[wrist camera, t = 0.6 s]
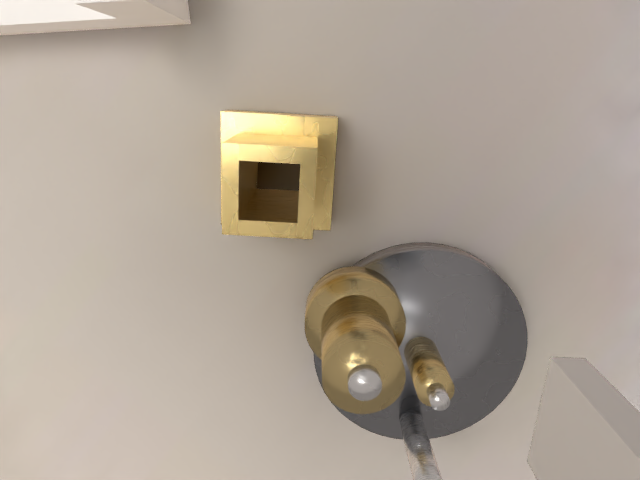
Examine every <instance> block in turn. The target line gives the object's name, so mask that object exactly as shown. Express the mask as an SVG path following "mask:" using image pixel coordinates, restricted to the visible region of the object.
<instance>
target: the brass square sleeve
mask: <svg viewBox="0 0 640 480" xmlns="http://www.w3.org/2000/svg"><path fill="white" fill-rule="evenodd" d="M337 128H338V118H337V116H322V115H306V114H289V113H273V112H256V111H240V110H225V111H221V224H222V234H225V235H244V236H262V237H280V238H299V239H313V230H331V215H332V201H333V186H334V172H335V157H336V142H337ZM258 162H273V163H290V164H300V180H299V191H292V190H275V189H257V174H258Z"/></svg>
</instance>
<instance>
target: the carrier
mask: <svg viewBox="0 0 640 480" xmlns="http://www.w3.org/2000/svg"><path fill="white" fill-rule="evenodd" d="M305 334H306V338H307V341H308V343H309V345H310V347H311V349H312V350H313V352H314V361H315V368H316V372H317V375H318V379H319V382H320V384H321V386H322V388H323V390H324V392H325V394H326V395H327V397H328V398H329V400H330V401H331V403H332V404H333V405H334V406H335V407H336V408H337V409H338V410H339V411H340V412H341V413H342V414H343V415H344V416H345V417H347V418H348V419H349V420H350V421H352V422H354V423H355V424H357V425H358V426H360V427H362V428H364V429H366V430H368V431H370V432H373V433H376V434H379V435H382V436H386V437H391V438H396V439H403V440H404V444H405V448H406V452H407V456H408V460H409V464H410V468H411V472H412V476H413V480H442V478H441V474H440V471H439V468H438V465H437V462H436V459H435V456H434V453H433V450H432V446H431V443H430V440H429V439H431V438H437V437H441V436H446V435H449V434H452V433H455V432H458V431H460V430H463V429H465V428H467V427H469V426H471V425H473V424H474V423H476V422H478V421H479V420H481V419H483V418H484V417H485V416H487V415H488V414H489V413H490V412H492V411H493V410H494V409H495V408H496V407H497V406H498V405H499V404H500V403H501V402H502V401H503V400H504V399H505V397H506V396H507V395H508V394H509V392H510V391H511V389H512V388H513V386H514V384H515V383H516V381H517V379H518V377H519V375H520V372H521V370H522V367H523V364H524V361H525V357H526V350H527V328H526V322H525V318H524V314H523V311H522V308H521V306H520V304H519V302H518V300H517V298H516V296H515V295H514V293H513V292H512V291H511V289H510V288H509V286H508V285H507V284H506V283H505V282H504V281H503V280H502V279H501V278H500V277H499V276H498V275H497V274H496V273H495V272H494V271H493V270H492V269H491V268H490V267H489V266H488V265H487V264H485V263H484V262H483V261H481V260H480V259H478V258H477V257H475V256H473V255H471V254H470V253H468V252H465V251H463V250H460V249H458V248H455V247H451V246H447V245H443V244H435V243H409V244H401V245H397V246H393V247H389V248H386V249H383V250H381V251H378V252H376V253H373V254H371V255H369V256H367V257H366V258H364V259H362V260H360V261H359V262H358V263H356V264H355V265H353V266H350V267H343V268H339V269H336V270H334V271H331V272H330V273H328V274H326V275H325V276H323V277H322V278H321V279H320V280H319V281H318V282H317V283H316V284H315V285H314V286H313V288H312V290H311V291H310V293H309V296H308V298H307V302H306V310H305Z"/></svg>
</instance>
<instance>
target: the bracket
mask: <svg viewBox="0 0 640 480" xmlns="http://www.w3.org/2000/svg"><path fill="white" fill-rule="evenodd" d="M183 24H191V21H190V13H189V5H188V0H0V35H16V34H33V33H50V32H66V31H83V30H100V29H116V28H133V27H150V26H166V25H183Z"/></svg>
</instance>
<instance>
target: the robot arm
mask: <svg viewBox="0 0 640 480" xmlns="http://www.w3.org/2000/svg"><path fill="white" fill-rule="evenodd" d="M527 462H528V464H529V466H530V468H531V469H532V471H533V473H534V475H535V476H536V478H537V480H640V412H639V411H638V410H637V409H636V408H635V407H634V406H633V405H632V404H631V403H630V402H629V401H628V400H627V399H626V398H625V397H624V396H623V395H622V394H621V393H620V392H619V391H618V390H617V389H616V388H615V387H614V386H613V385H612V384H611V383H610V382H609V381H608V380H607V379H606V378H605V377H604V376H603V375H602V374H601V373H600V372H599V371H598V370H597V369H596V368H595V367H594V366H593V365H592V364H591V363H590V362H589V361H588V360H587V359H586V358H566V357H550V361H549V366H548V370H547V375H546V379H545V383H544V388H543V392H542V397H541V401H540V406H539V410H538V415H537V419H536V424H535V428H534V433H533V437H532V441H531V446H530V450H529V455H528V459H527Z"/></svg>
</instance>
